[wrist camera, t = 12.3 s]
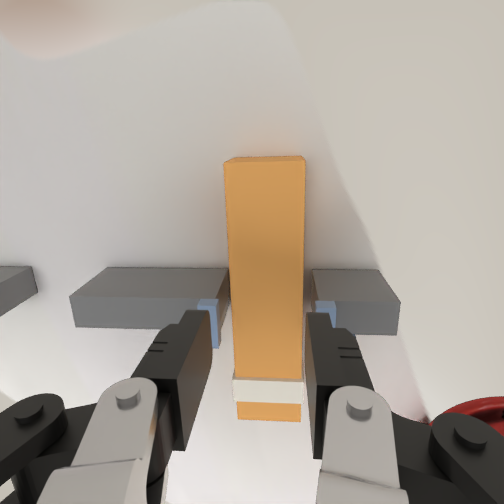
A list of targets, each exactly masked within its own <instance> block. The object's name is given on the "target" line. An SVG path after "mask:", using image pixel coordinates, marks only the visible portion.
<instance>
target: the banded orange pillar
mask: <svg viewBox="0 0 504 504" xmlns="http://www.w3.org/2000/svg"><path fill="white" fill-rule="evenodd" d="M224 181H225V199H226V217H227V235H228V253H229V271H230V289H231V307H232V325H233V343H234V361H235V369H234V374H233V379H232V384H233V400H234V401H237V414H238V419H244V420H266V421H289V422H301V404H304V374H303V362H302V319H303V267H304V214H305V160H304V158H303V157H302V156H277V157H239V158H233V159H230V160H228V161H226V162H224Z"/></svg>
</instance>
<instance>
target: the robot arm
mask: <svg viewBox="0 0 504 504" xmlns="http://www.w3.org/2000/svg"><path fill="white" fill-rule="evenodd" d="M211 364H212V337H211V323H210V313H209V311H208V310H186V311H185V313H184V315H183V316H182V318H181V320H180V322H179V324H169V325H168V326H166V327H165V328H164V329H162V330H161V331H160V332H159V333H158V334H157V336H156V338H155V339H154V341H153V344H151V345H150V347H149V349H148V352H146V353H145V355H144V357H143V358H142V360H141V361H140V363H139V365H138V366H137V368H136V369H135V371H134V373H133V374H132V376H131V377H130V378H129V379H125V380H122V381H119V382H117V383H115V384H113V385H112V386H110V387H109V388H108V389H106V390H105V391H104V392H103V394H102V395H101V397H100V398H99V401H98V403H95V404H90V405H85V406H80V407H75V408H70V409H65V407H64V403H63V400H62V398H61V397H59V396H58V395H55V394H48V393H45V394H38V395H34V396H31V397H28V398H25V399H23V400H21V401H19V402H17V403H15V404H14V405H12V406H10V407H9V408H7V409H6V410H4V411H3V412H1V413H0V486H1V485H2V484H4V483H5V482H6V481H7V480H9V479H10V478H11V480H12V483H13V486H14V489H15V490H14V491H13V492H12V493H11V494H10V495H9V496H7V497H6V498H5V499H4V500H3V501H1V502H0V504H165V499H166V490H167V482H168V462H169V459H170V456H171V453H172V450H173V451H185V450H186V446H187V443H188V440H189V437H190V433H191V430H192V427H193V424H194V421H195V417H196V414H197V411H198V408H199V404H200V401H201V398H202V395H203V392H204V388H205V385H206V382H207V379H208V375H209V372H210V369H211ZM305 374H306V385H307V396H308V406H309V417H310V428H311V439H312V450H313V459H322V466H321V469H320V472H319V479H318V488H317V496H316V504H504V436H502V435H501V434H500V433H499V432H498V431H496V430H495V429H494V428H492V427H491V426H490V425H488V424H487V423H485V422H483V421H481V420H479V419H477V418H475V417H472V416H469V415H466V414H462V413H454V412H451V413H443V414H441V415H438V416H437V417H436V418H435V419H434V420H433V423H432V426H430V425H427V424H423V423H420V422H416V421H413V420H410V419H407V418H404V417H401V416H399V415H397V414H395V413H394V412H392V411H391V409H390V407H389V404H388V403H387V402H386V400H385V399H384V398H383V397H382V396H380V395H379V394H377V393H376V392H375V391H374V388H373V385H372V382H371V379H370V377H369V374H368V371H367V368H366V365H365V363H364V360H363V359H362V354H361V351H360V350H359V346H358V343H357V340H356V337H355V336H354V335H353V334H351V333H350V332H349V331H348V330H347V329H346V328H333V327H332V323H331V319H330V315H329V313H323V312H306V331H305Z"/></svg>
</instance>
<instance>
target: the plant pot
mask: <svg viewBox="0 0 504 504" xmlns="http://www.w3.org/2000/svg"><path fill="white" fill-rule="evenodd" d="M451 412H454V413H462V414H466V415H469V416H472V417H475V418H477V419H479V420H481V421H483V422H485V423H487V424H488V425H490V426H491V427H492V428H494V429H495V430H496V431H498V432H499V433H500V434H501V435H502V436H504V397H502V396H501V397H487V398H480V399H475V400H471V401H468V402H464V403H461V404H458V405H456V406H454V407H452V408H450V409H448V410H446V411H445V412H443V413H451ZM443 413H442V414H443ZM440 415H441V414H440ZM432 423H433V421H432V422H431V423H430V424H429V425H430V426H432Z"/></svg>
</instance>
